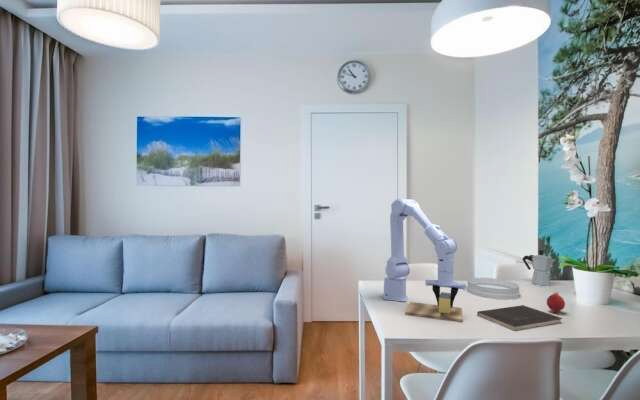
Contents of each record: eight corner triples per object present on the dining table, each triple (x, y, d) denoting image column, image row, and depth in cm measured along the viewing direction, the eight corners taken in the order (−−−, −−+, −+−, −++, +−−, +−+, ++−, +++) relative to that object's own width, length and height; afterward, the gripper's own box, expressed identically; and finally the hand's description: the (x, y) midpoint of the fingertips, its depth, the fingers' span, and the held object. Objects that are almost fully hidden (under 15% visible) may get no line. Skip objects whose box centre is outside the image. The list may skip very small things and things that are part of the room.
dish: (528, 295, 157) (529, 284, 157) (504, 303, 145) (504, 291, 145) (482, 285, 176) (483, 275, 176) (457, 291, 163) (457, 281, 163)
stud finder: (438, 312, 127) (438, 296, 128) (440, 307, 134) (440, 291, 134) (450, 313, 126) (450, 297, 126) (451, 308, 132) (451, 293, 132)
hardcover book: (562, 324, 121) (562, 318, 121) (514, 332, 113) (514, 325, 113) (521, 310, 136) (521, 304, 136) (477, 316, 128) (477, 310, 128)
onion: (559, 315, 128) (559, 294, 128) (543, 311, 134) (543, 291, 134) (567, 313, 131) (568, 293, 131) (551, 309, 136) (552, 289, 136)
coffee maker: (557, 285, 175) (557, 250, 175) (554, 288, 169) (554, 252, 169) (524, 280, 186) (524, 247, 186) (520, 283, 179) (520, 249, 179)
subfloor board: (405, 314, 128) (405, 311, 128) (409, 304, 141) (409, 301, 141) (462, 322, 121) (462, 318, 121) (461, 310, 134) (461, 307, 134)
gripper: (466, 270, 130) (466, 305, 130) (427, 267, 136) (426, 300, 136) (466, 274, 124) (465, 311, 124) (424, 270, 130) (424, 305, 130)
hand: (445, 306), depth 130 cm, fingers closed on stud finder, 4 cm apart
